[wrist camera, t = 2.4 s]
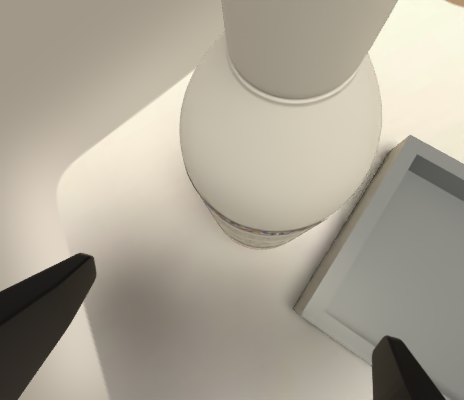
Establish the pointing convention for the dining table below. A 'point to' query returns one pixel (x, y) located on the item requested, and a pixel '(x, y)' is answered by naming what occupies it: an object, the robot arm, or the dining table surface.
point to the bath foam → (283, 115)
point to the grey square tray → (400, 266)
